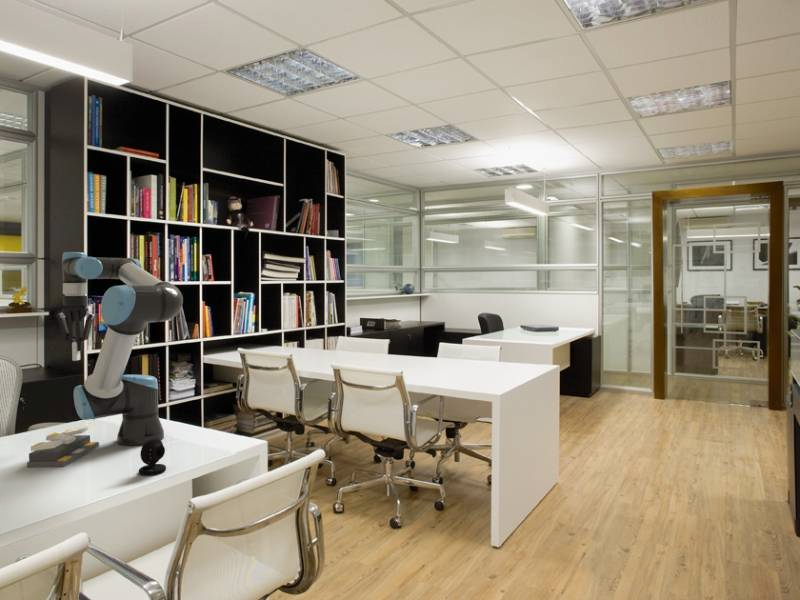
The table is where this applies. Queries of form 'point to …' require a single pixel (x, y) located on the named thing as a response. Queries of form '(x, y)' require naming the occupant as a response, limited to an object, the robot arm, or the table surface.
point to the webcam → (152, 457)
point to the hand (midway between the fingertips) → (76, 360)
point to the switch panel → (63, 463)
